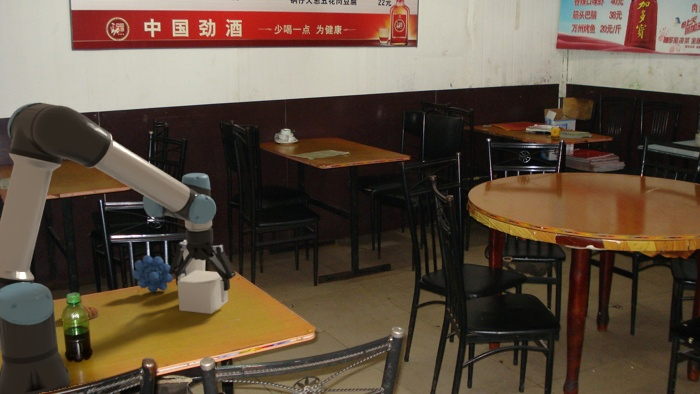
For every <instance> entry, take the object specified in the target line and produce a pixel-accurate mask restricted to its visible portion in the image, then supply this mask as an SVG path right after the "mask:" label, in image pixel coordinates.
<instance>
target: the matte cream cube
mask: <svg viewBox="0 0 700 394" xmlns="http://www.w3.org/2000/svg"><path fill="white" fill-rule="evenodd" d="M220 280H222V278H221V277H220V275H219V274H218V273H217V272H216V271H207V270H205V271H199V270H195V271H193V272H191V273H190V274H188V275H185V277H183V278H182V279H180V280H178V281H177V283H178V286H177V295H178V306H179V311H182V312H183V311H184V312H193V313H199V314H209V315H211V314H213V313H215V312H216V311H217V310H218V309H220V308H222V306H224V305H225V304H227V303H228V302H229V299H228V300H226V301H225V302H221V287H220Z"/></svg>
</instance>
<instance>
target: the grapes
mask: <svg viewBox="0 0 700 394" xmlns="http://www.w3.org/2000/svg"><path fill="white" fill-rule="evenodd" d="M134 267H135V270H133V272H132V276H133V278H134V279H135V280H138V281H137V285H138V287H140V288H141V289H146V288H147V290H148V291H149V292H150V293H157V292H158V290H160V291H165V290H167V289H168V284H169V283H171V282H172V281H173V279H174V278H173V275H172V274H171V273H169V269H170V267H171V265H169V264H168V263H164V260H163V258H162V257H161V256H155V257H152V256H151V255H147V254H146V255H144V256H143V257H142V260H140V259H139V260H136V261H135V262H134Z"/></svg>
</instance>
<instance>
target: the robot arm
mask: <svg viewBox="0 0 700 394" xmlns="http://www.w3.org/2000/svg"><path fill="white" fill-rule="evenodd" d="M7 134H8V135H7V136H8V137H9V139H10V141H11V144H10V149H9V153H8V155H9V157H10V159H11V160H12V162H13V166H12V171H11V174H10V180H9V181H8V182H9V183H8V186H7V187H8V188H7V192H6V194H5V199H4V204H3V208H2V212H1V216H0V354H1V365H0V394H39V393H42V392H49V391H54V390H58V389H62V388H65V387H67V388H68V387H69V386H70V385H71V377H70V372H69V370H68V368H67V367H66V366H65V365H66V364H65V362H64V360H63V358H62V356H61V354H60V352H59V346H58V345H59V344H58V336H57V326H56V317H55V302H54V299H53V295H52V292H51V290H50V289H49V288H48V287H47V286H45V285H43V284H42V283H36V282H34V281H35V277H34V275H33V274H32V272H31V269H30V268H31V262H32V259H33V255H34V250H35V247H36V243H37V238H38V234H39V230H40V226H41V221H42V217H43V214H44V213H43V212H44V209H45V204H46V201H47V197H48V192H49V188H50V183H51V179H52V176H53V172H54V171H55V170H57V169H58V168H60V167H61V166H62V163H63V160H64V159H66V160H69V161H71V162H74V163H77V164H80V165H81V166H83V167H85V168H87V169H92V168H95V169H97V170H99V171H100V172H102V173H104V174H106V175H107V176H109V177H111V178H112V179H114V180H116V181H118V182H120V183H121V184H123V185H125V186H127V187H128V188H131V190H134V191H136V192H138V193H139V194H141V195H142V196H143V197H142V203H143V204H142V205H143V209H144V211H145V213H146V214H147V215H148V216H149V217H150V218H161V217H163V216H168V217H172V218H175V219H180V220H184V226H185V227H184V228H186V230H185V240H186V241H187V244H186V243H185V242H183V241H184V240H183V241H180V242H179V243H177V244H176V252H175V255H174V257H173V259H172V262H171V265H170V269H169V274H173V275H174V277H175V284H176V286H177V287H178V283H177V281H178V280H180V279H182V278H183V277H185V276H186V273H184V271H186V269H185V268H186V267H187V266H188V264H189V263H190V262H191V261H192V259H193V258H194V259H195V260H199V259H200V260H205V262H207V263H209V264H210V265H211V267H212V268H213V269H214V270H215V272H217V273H218V274H219V275H220V277H221V278H222V280H220V287H221V302H225V301H226V300H228V301H229V293H228V291H229V290H230V289H231V284H230V283H231V282H230V280H231V279H233V278H234V277H236V275H237V274H236V272H235V269H234V268H233V265H232V264H231V262H230V260H229V258H228V256H227V254H226V251H225V246H224V245H223V244H220V245H214V231H213V230H214V229H213V228H212V226H213V219H214V217H215V215H216V212H217V206H216V203H215V201H214V199H213V198H212V197H211V196H212V195H211V194H212V193H211V189H212V188H211V182H210V178H209V175H208V174H206V173H203V172H202V173H201V172H191V173H186V174H185V175H183V176H182V177H181V178H182V179H181V181H179V180H178V179H176V178H174V177H172V176H171V175H170V174H168V173H167V172H164V171H163V170H162V169H160V168H158V167H157V166H155V165H153V164H152V163H150V162H149V161H147V160H146V159H144V158H143V157H141V156H139V155H138V154H136V153H134V152H132V151H131V150H130V149H128V148H126V146H123V145H122V144H120V143H118V142H117V141H116V140H114V139H113V136H112V134H111V132H109V131H107V129H105V128H103V127H101V126H100V125H98V124H97V123H95V122H94V121H92V120H91V119H90V118H88V117H87V116H86V115H83V114H82V113H80V112H79V111H77V110H75V109H73V108H70V107H69V106H65V105H60V104H58V105H56V104H51V103H45V102H33V103H27V104H24V105H22V106H20V107H19V108H17V109H16V110H15V111H14V112H13V113H12V114H11V115H10V117H9V119H8V121H7ZM185 249H187V250H188V252H189V254H188V255H187V257H186V259H185V260H184V259H183V261H182V263H181V264H180V262H181V260H182V257H183V253H184V250H185ZM216 255H217V256H216Z"/></svg>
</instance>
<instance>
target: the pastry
mask: <svg viewBox="0 0 700 394" xmlns="http://www.w3.org/2000/svg"><path fill="white" fill-rule="evenodd" d="M82 306H83V307H84V308H85V309H86V311H87V313H88V317H89V320H93V319H95V318H97V317H98V316H99V311H98V308H97V307H93V306H90V307H89V306H86V305H82ZM64 309H65V308H63V310H64ZM89 320H88V321H89Z"/></svg>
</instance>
